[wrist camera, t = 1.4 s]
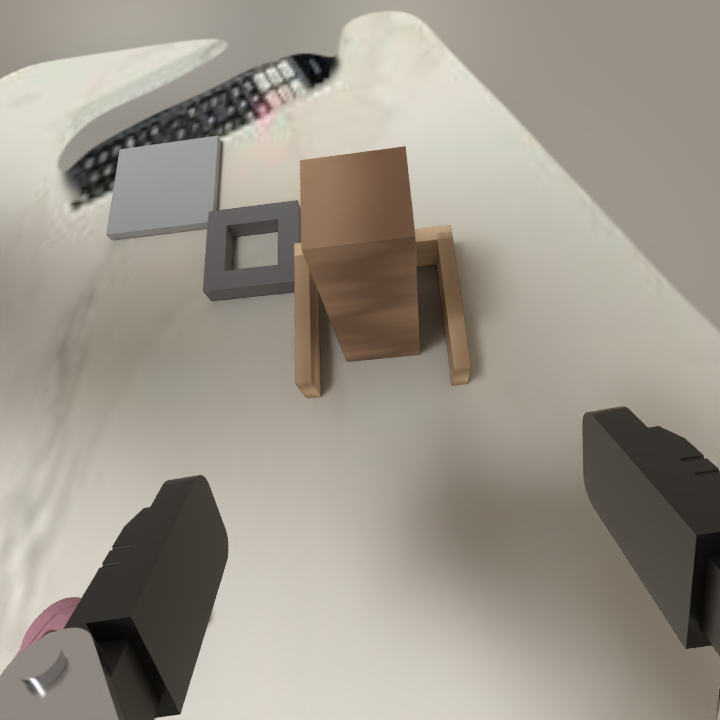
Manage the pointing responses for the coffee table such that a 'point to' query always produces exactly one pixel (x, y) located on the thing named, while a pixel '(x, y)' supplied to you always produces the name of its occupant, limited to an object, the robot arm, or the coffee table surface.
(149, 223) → the grey pad
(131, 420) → the coffee table surface
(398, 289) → the walnut block
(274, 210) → the grey square frame
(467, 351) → the wooden u-shaped bracket
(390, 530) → the coffee table surface
